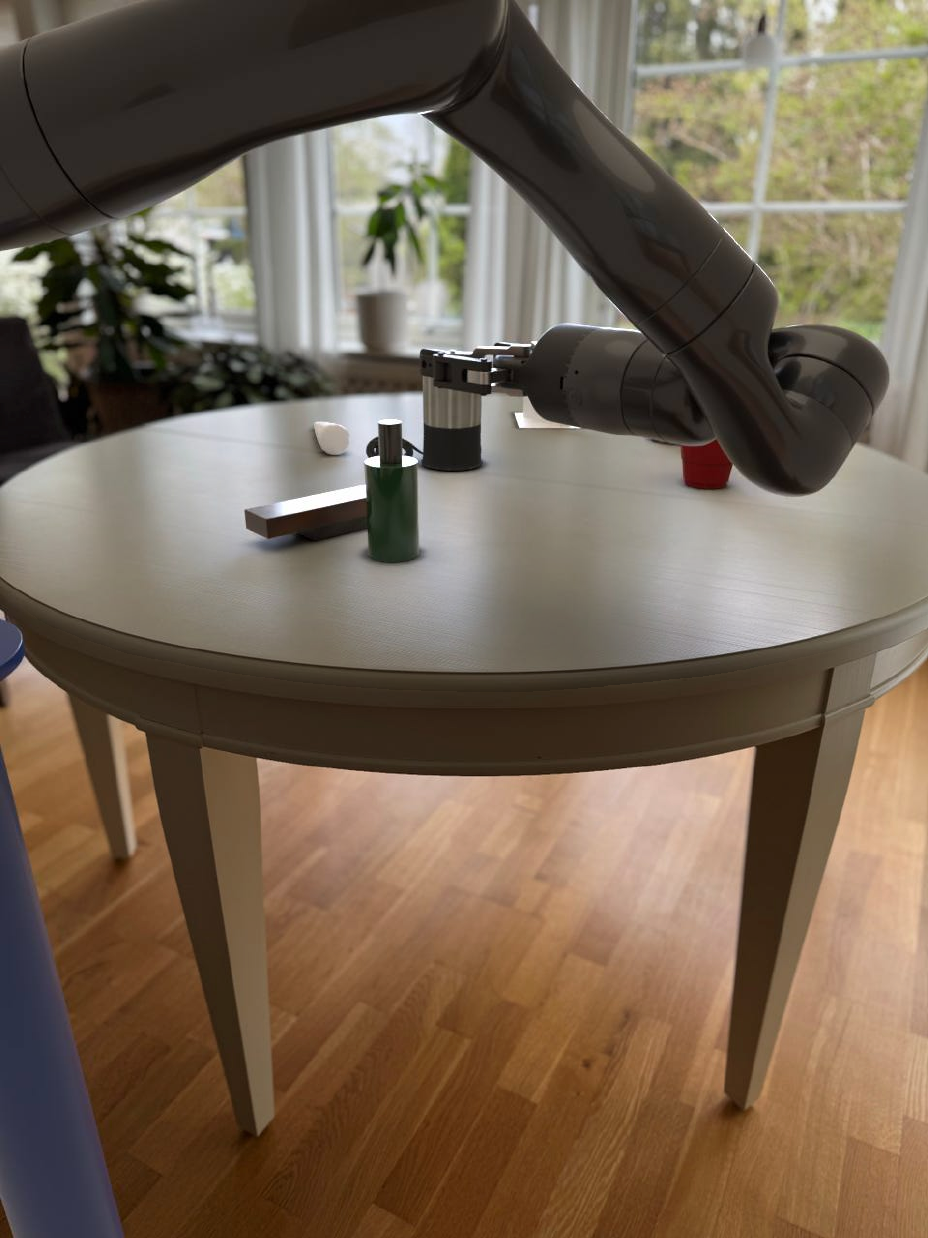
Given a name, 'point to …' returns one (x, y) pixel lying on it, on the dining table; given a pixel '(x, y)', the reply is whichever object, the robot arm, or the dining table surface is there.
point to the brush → (311, 515)
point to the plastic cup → (705, 466)
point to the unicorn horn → (332, 437)
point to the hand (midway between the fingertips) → (460, 357)
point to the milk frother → (446, 429)
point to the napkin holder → (535, 418)
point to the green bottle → (392, 498)
